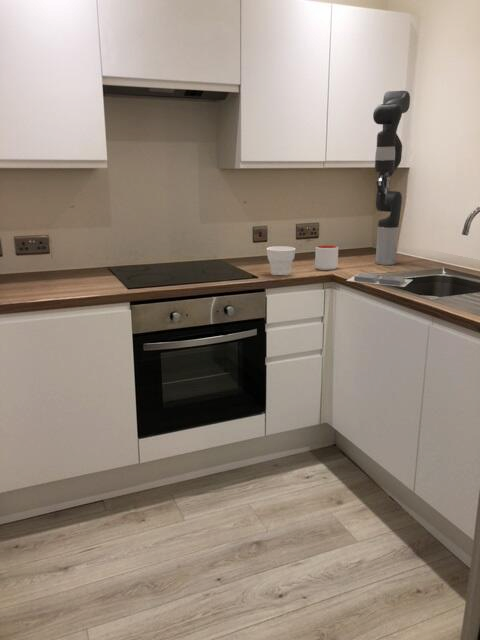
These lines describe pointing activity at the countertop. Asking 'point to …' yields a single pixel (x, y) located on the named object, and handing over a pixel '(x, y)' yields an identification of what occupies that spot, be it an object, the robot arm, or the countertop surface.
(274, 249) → the cup
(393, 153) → the robot arm
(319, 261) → the cup
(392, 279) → the tile
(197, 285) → the countertop surface
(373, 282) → the mat
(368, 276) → the tile
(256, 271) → the countertop surface
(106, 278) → the countertop surface
